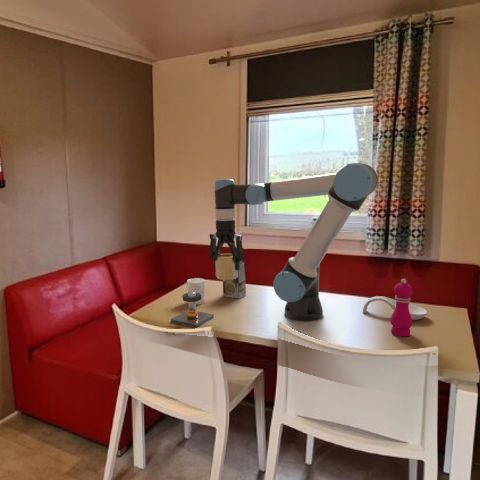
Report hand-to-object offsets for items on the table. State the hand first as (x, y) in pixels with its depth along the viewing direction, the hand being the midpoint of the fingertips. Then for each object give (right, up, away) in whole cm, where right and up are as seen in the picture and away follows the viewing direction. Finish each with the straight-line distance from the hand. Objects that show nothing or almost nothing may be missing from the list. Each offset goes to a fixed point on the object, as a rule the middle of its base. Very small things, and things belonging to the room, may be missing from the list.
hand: (226, 276), depth 159 cm
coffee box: (+3, -11, +27) cm, 30 cm away
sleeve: (0, 0, 0) cm, 0 cm away
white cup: (-14, -13, +19) cm, 27 cm away
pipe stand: (-13, -17, -2) cm, 21 cm away
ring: (-13, -8, -4) cm, 16 cm away
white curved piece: (+66, -16, 0) cm, 68 cm away
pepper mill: (+62, -19, -17) cm, 67 cm away
